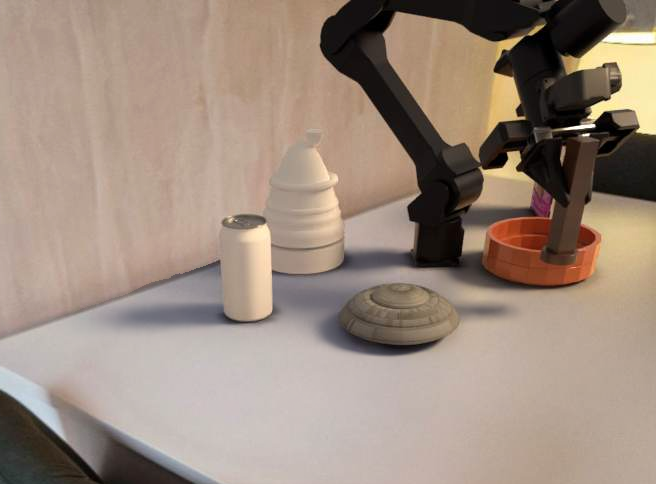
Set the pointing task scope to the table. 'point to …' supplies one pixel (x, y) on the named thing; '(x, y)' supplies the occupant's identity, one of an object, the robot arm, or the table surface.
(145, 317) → the table surface
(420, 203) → the robot arm
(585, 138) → the stick
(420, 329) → the flying saucer
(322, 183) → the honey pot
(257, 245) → the can
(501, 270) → the bowl
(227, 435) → the table surface
